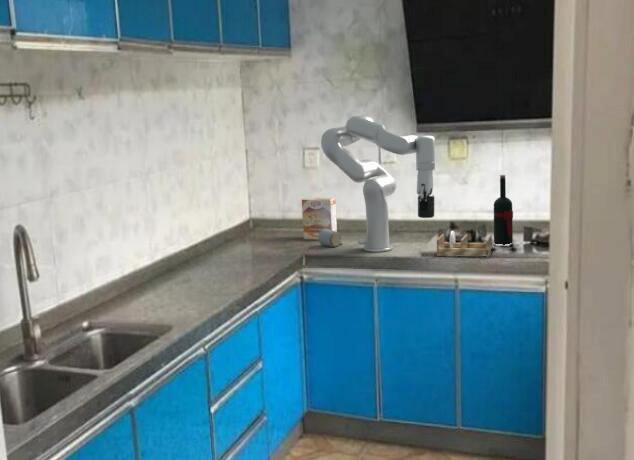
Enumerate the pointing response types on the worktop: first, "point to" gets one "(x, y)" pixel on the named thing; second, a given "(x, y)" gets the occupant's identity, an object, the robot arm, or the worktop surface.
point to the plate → (452, 239)
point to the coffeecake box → (318, 216)
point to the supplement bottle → (430, 207)
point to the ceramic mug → (330, 238)
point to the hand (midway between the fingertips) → (426, 208)
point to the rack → (464, 247)
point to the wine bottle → (503, 217)
